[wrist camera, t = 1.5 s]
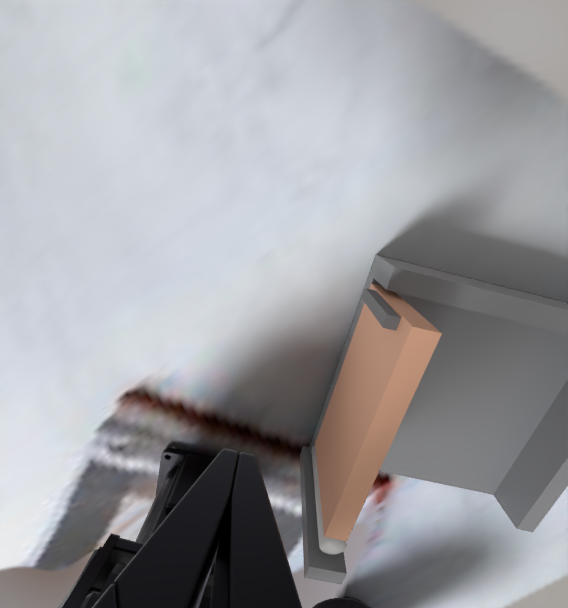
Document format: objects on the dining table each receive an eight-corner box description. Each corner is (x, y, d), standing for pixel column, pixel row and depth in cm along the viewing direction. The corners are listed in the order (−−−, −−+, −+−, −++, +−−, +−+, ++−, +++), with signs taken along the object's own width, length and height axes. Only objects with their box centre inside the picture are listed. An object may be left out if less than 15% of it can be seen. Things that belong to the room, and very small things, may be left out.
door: (328, 460, 22) (341, 556, 16) (302, 454, 22) (306, 550, 16) (392, 288, 17) (444, 334, 12) (361, 280, 17) (397, 322, 11)
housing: (493, 494, 24) (585, 629, 17) (299, 454, 23) (304, 577, 16) (610, 313, 19) (822, 389, 11) (367, 252, 18) (422, 291, 11)
